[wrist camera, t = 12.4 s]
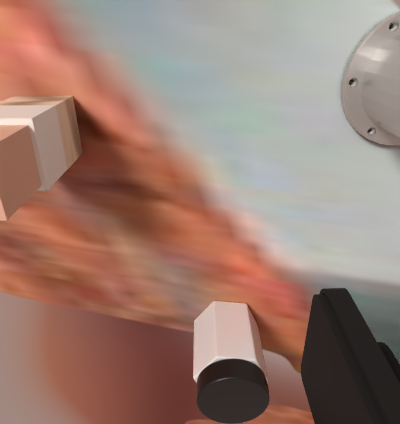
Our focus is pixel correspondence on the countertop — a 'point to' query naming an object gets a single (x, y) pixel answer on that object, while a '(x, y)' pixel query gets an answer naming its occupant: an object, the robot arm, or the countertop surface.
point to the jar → (229, 364)
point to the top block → (16, 169)
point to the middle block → (40, 138)
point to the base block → (65, 119)
